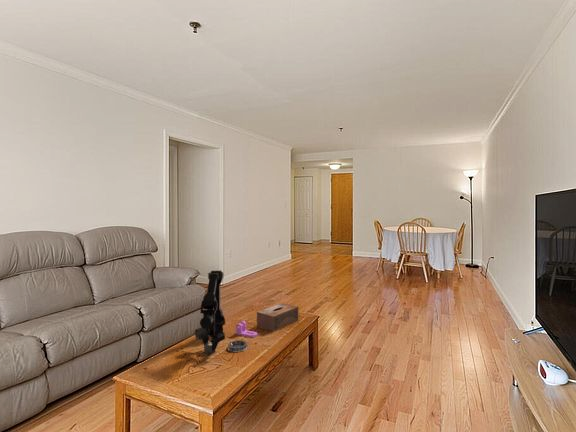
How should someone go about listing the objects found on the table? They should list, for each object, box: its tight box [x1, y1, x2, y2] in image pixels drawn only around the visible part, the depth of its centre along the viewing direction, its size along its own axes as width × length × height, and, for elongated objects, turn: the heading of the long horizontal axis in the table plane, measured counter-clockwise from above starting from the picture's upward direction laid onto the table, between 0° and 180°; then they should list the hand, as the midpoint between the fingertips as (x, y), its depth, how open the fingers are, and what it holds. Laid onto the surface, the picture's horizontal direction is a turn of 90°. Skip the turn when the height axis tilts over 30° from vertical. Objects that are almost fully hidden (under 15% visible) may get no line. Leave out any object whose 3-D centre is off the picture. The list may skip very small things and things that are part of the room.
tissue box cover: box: [256, 302, 299, 332], centre depth 223 cm, size 26×14×10 cm, turn 141°
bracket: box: [235, 320, 258, 338], centre depth 204 cm, size 13×6×7 cm, turn 64°
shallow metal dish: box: [227, 339, 249, 353], centre depth 185 cm, size 11×11×2 cm
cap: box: [203, 341, 216, 356], centre depth 180 cm, size 6×6×4 cm
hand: (209, 350), depth 180 cm, fingers closed on cap, 6 cm apart
